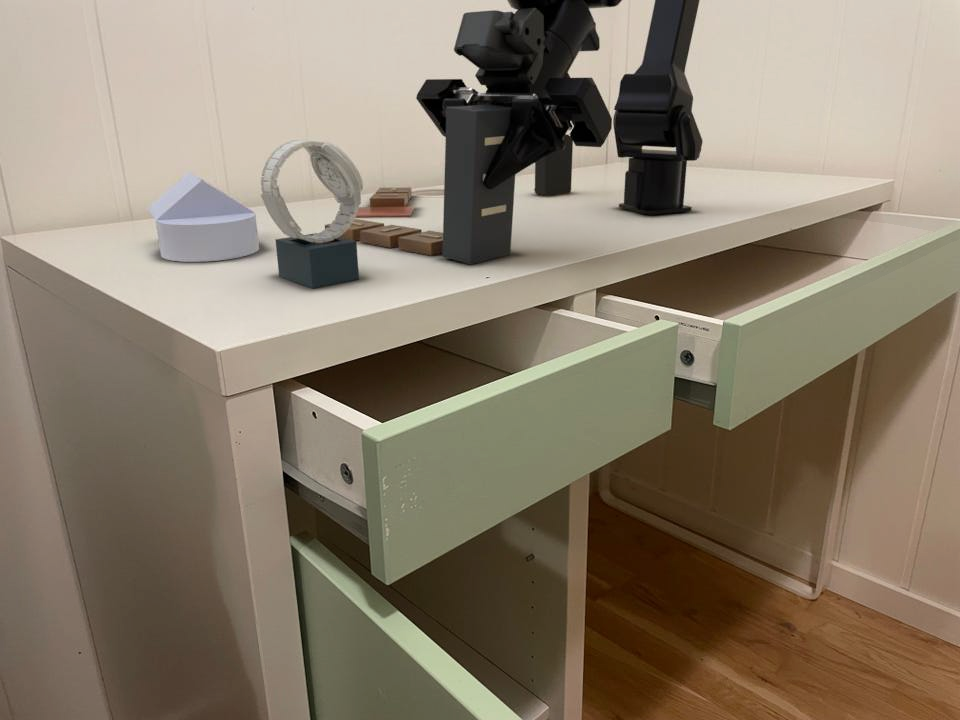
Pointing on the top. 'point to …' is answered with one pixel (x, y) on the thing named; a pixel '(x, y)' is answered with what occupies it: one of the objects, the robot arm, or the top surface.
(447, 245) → the striped dark tower
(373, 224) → the segmented wooden bar
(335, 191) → the watch
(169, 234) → the wedge on round base
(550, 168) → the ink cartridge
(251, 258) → the top surface
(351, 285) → the top surface
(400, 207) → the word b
